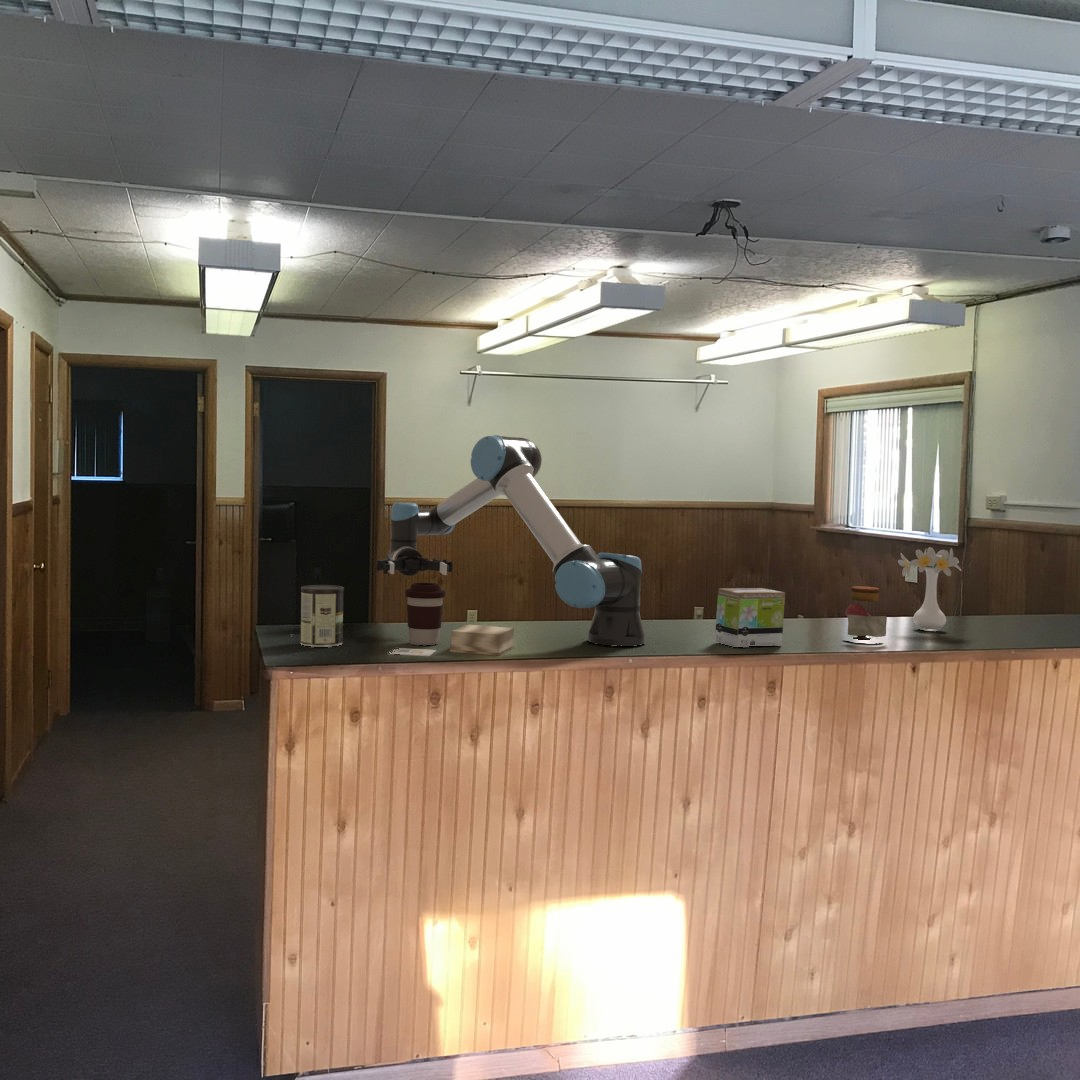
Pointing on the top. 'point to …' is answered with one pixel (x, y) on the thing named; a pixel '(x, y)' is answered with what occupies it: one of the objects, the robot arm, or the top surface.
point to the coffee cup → (424, 613)
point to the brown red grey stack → (864, 615)
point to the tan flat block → (482, 640)
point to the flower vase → (930, 584)
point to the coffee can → (322, 615)
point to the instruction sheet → (413, 652)
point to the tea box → (749, 617)
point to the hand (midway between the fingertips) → (419, 569)
